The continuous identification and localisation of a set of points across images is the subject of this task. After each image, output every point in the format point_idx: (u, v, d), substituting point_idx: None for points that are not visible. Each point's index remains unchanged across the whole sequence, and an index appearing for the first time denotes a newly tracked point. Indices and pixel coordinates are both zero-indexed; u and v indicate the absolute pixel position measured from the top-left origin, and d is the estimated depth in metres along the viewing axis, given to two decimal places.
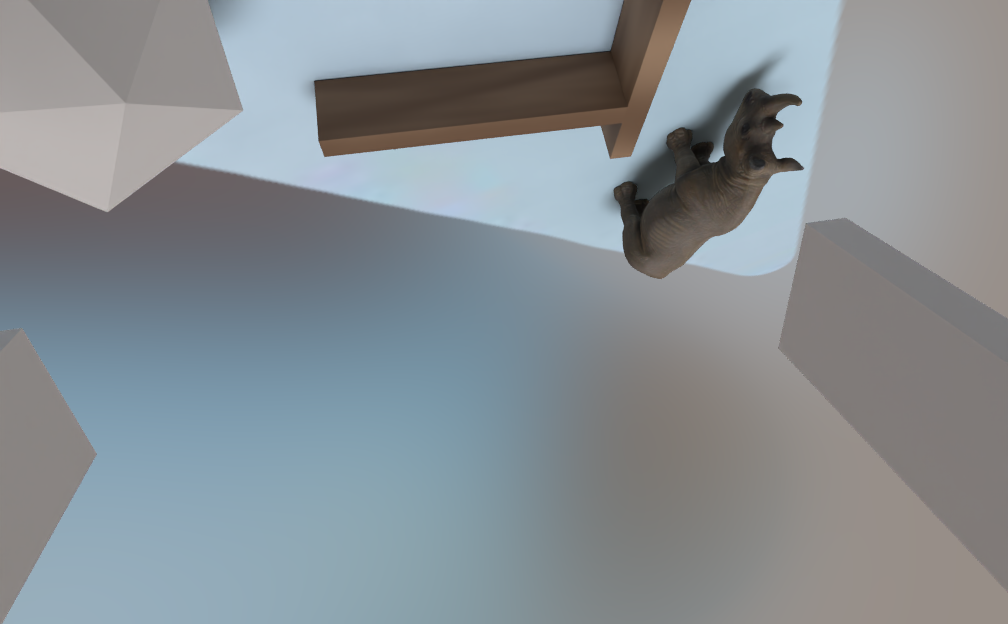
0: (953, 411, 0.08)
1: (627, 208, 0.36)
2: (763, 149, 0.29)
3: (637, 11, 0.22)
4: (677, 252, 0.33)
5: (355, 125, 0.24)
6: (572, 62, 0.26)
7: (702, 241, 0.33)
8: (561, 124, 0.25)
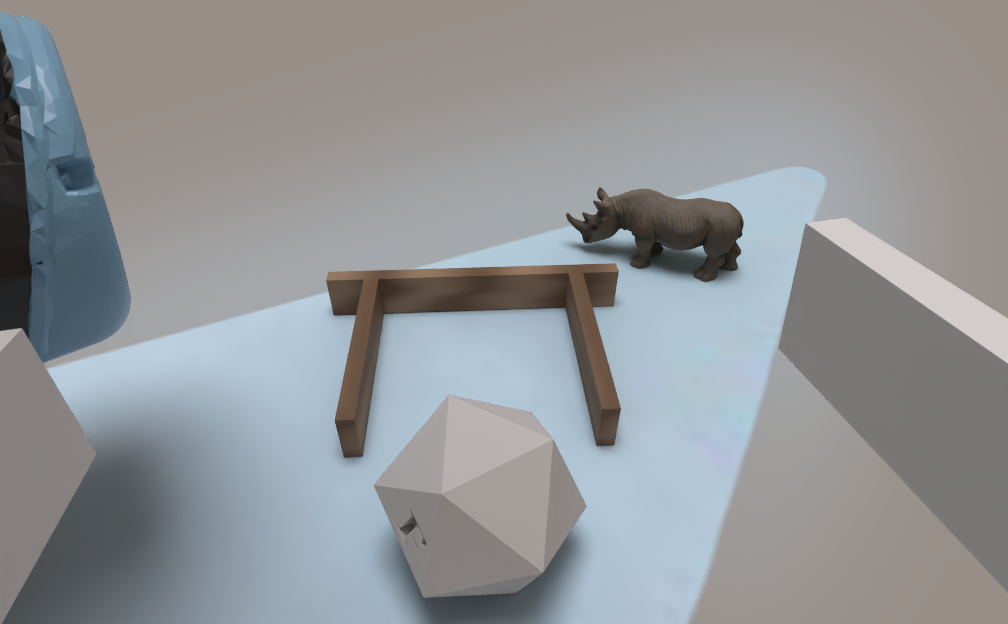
0: (953, 411, 0.08)
1: (708, 263, 0.46)
2: (598, 211, 0.47)
3: (520, 292, 0.43)
4: (692, 206, 0.44)
5: (596, 396, 0.34)
6: (569, 318, 0.42)
7: (675, 199, 0.45)
8: (583, 296, 0.40)
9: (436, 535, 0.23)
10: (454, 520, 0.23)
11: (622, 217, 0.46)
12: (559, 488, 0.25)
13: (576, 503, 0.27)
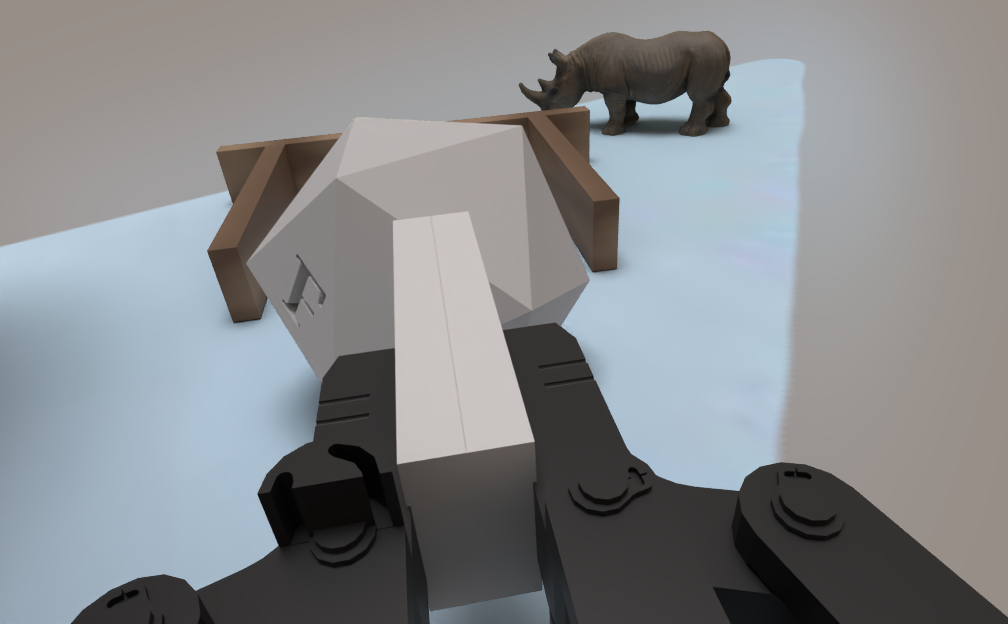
0: None
1: (695, 112, 0.38)
2: (556, 72, 0.40)
3: None
4: (666, 41, 0.37)
5: (583, 201, 0.24)
6: None
7: None
8: (549, 129, 0.31)
9: (338, 267, 0.13)
10: (365, 229, 0.13)
11: (585, 71, 0.38)
12: (542, 208, 0.15)
13: (572, 259, 0.17)
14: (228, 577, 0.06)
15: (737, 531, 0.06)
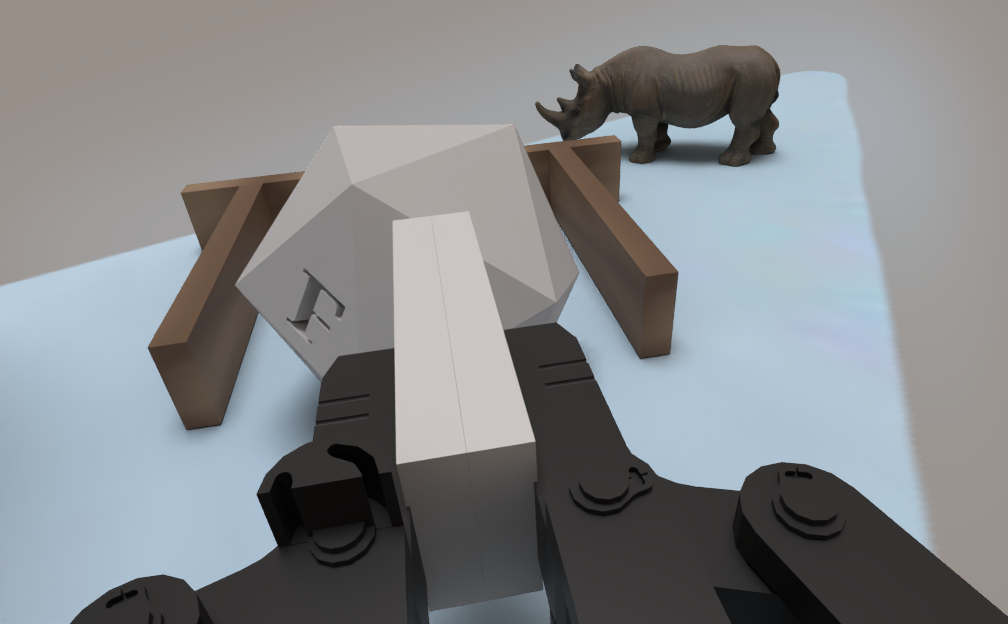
0: None
1: (737, 138, 0.33)
2: None
3: None
4: (706, 56, 0.32)
5: (628, 270, 0.19)
6: (559, 216, 0.28)
7: None
8: (577, 166, 0.26)
9: (359, 277, 0.13)
10: (385, 236, 0.13)
11: (611, 90, 0.34)
12: (541, 203, 0.16)
13: (566, 252, 0.17)
14: (227, 577, 0.06)
15: (739, 531, 0.06)
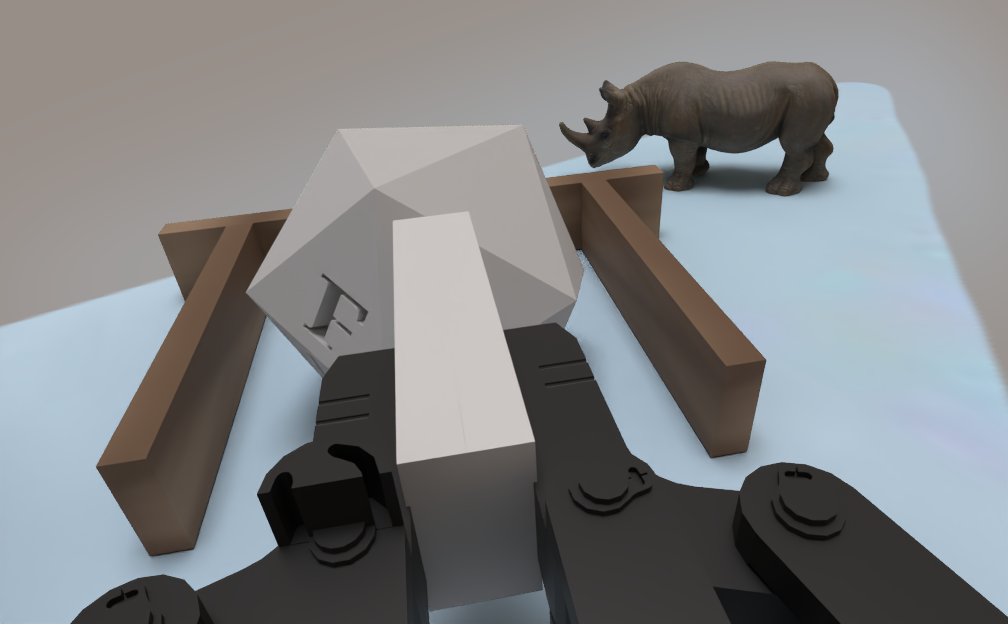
0: None
1: (788, 165, 0.29)
2: (607, 111, 0.31)
3: None
4: (755, 74, 0.28)
5: (696, 349, 0.16)
6: (593, 259, 0.25)
7: (726, 72, 0.29)
8: (617, 205, 0.22)
9: (382, 281, 0.13)
10: None
11: (646, 110, 0.30)
12: (552, 203, 0.16)
13: (573, 250, 0.18)
14: (227, 577, 0.06)
15: (737, 532, 0.06)
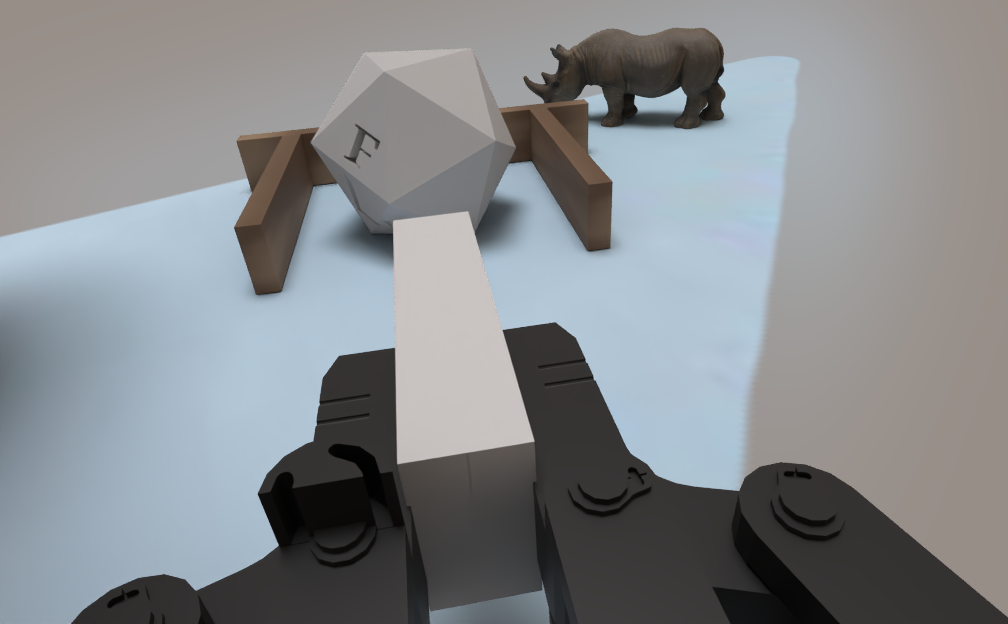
0: None
1: (689, 105, 0.40)
2: (558, 66, 0.42)
3: None
4: (662, 37, 0.39)
5: (579, 185, 0.26)
6: (537, 163, 0.35)
7: (643, 36, 0.40)
8: (550, 120, 0.33)
9: (388, 123, 0.24)
10: (402, 100, 0.24)
11: (585, 65, 0.41)
12: (489, 95, 0.27)
13: (506, 131, 0.29)
14: (228, 577, 0.06)
15: (737, 532, 0.06)
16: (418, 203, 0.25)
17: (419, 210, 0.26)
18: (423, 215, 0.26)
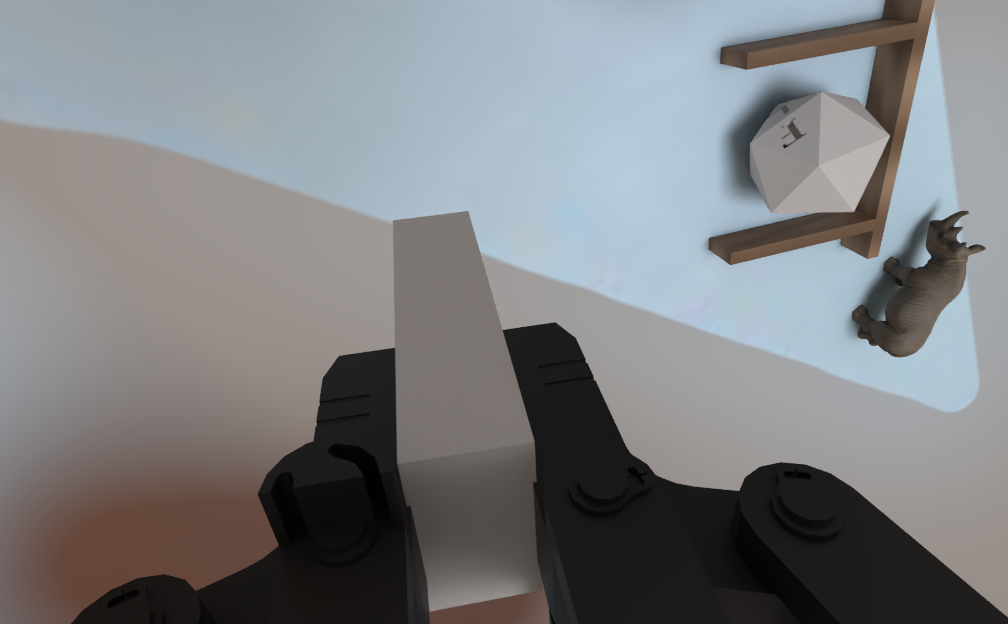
0: None
1: (868, 319, 0.55)
2: (956, 242, 0.50)
3: None
4: (924, 323, 0.51)
5: (744, 246, 0.46)
6: None
7: (938, 312, 0.51)
8: (844, 233, 0.47)
9: (791, 157, 0.39)
10: (801, 170, 0.39)
11: (939, 263, 0.50)
12: None
13: None
14: (228, 577, 0.06)
15: (738, 532, 0.06)
16: (752, 157, 0.42)
17: (751, 155, 0.43)
18: (750, 155, 0.43)
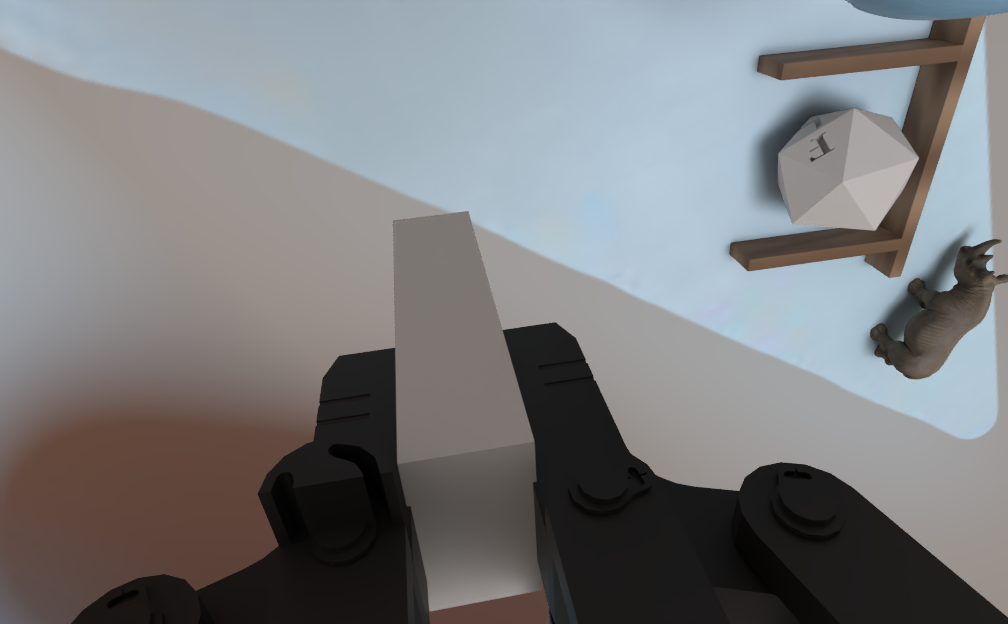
0: None
1: (886, 338, 0.55)
2: (985, 270, 0.49)
3: None
4: (941, 348, 0.51)
5: (764, 254, 0.47)
6: None
7: (957, 338, 0.51)
8: (867, 250, 0.47)
9: (816, 171, 0.40)
10: (825, 185, 0.39)
11: (964, 289, 0.50)
12: None
13: None
14: (228, 577, 0.06)
15: (736, 531, 0.06)
16: (779, 167, 0.43)
17: (778, 165, 0.43)
18: (778, 165, 0.43)
